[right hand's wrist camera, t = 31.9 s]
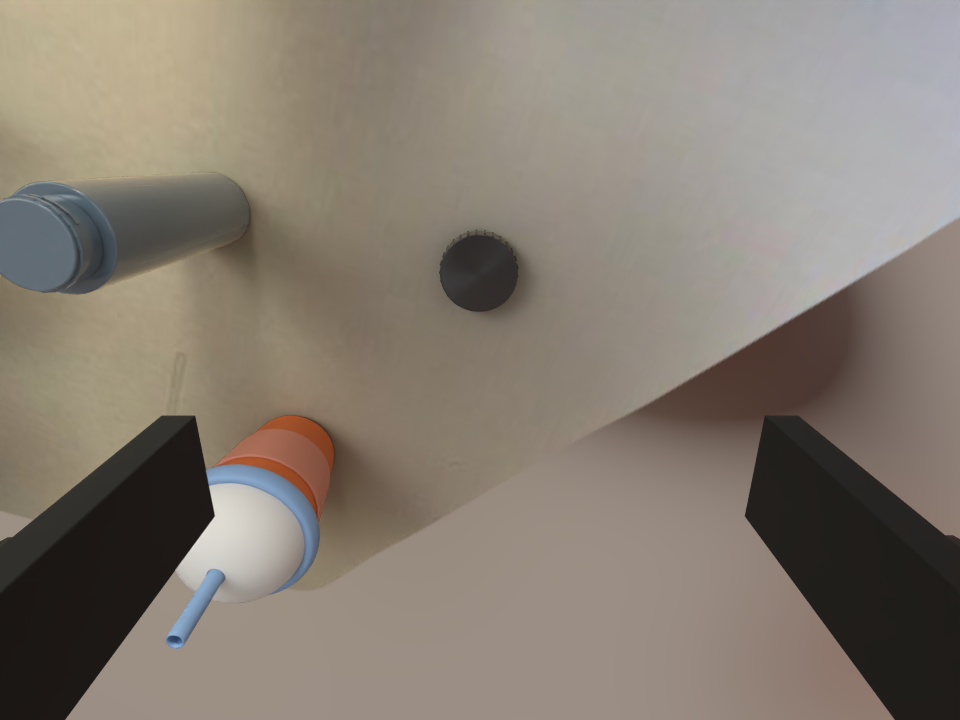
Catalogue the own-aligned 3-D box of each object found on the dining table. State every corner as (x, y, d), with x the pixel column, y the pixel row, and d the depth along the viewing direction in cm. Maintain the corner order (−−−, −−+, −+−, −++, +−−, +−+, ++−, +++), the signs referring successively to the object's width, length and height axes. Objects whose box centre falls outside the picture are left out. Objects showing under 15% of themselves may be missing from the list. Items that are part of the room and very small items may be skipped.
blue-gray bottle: (247, 251, 38) (91, 315, 23) (177, 236, 37) (-30, 291, 22) (252, 181, 36) (88, 199, 21) (179, 164, 36) (-42, 170, 21)
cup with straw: (316, 518, 45) (218, 736, 28) (215, 461, 43) (45, 657, 26) (376, 438, 42) (307, 625, 25) (271, 374, 41) (122, 529, 24)
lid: (514, 307, 39) (516, 314, 37) (439, 303, 39) (438, 311, 37) (519, 231, 37) (521, 235, 35) (441, 228, 37) (439, 231, 35)
